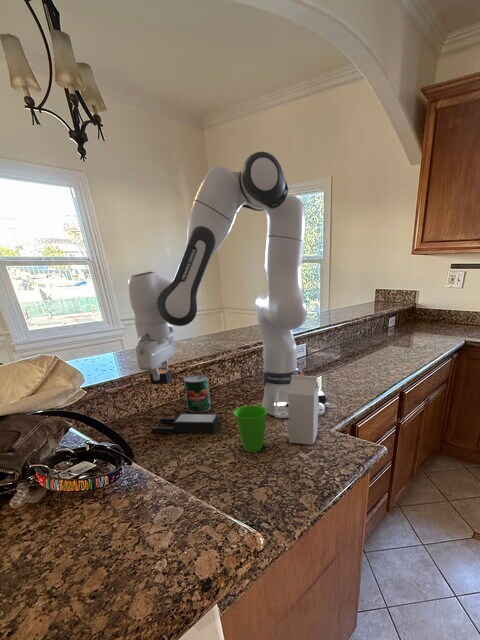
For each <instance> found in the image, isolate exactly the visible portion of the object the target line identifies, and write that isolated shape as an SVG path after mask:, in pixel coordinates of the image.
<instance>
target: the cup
mask: <svg viewBox="0 0 480 640" xmlns="http://www.w3.org/2000/svg"><path fill="white" fill-rule="evenodd" d="M267 413H268V410H267V409H266V408H265V407H262V405H257V404H255V405H253V404H251V405H250V404H249V405H243V406H240V407H237V408H236V409H234V410H233V416H235V420H236V425H237V428H238V432H239V435H240V440H241V444H242V447H243V449H244V451H245V452H248V453H256V452H259V451H261V450H262V448H263V445H264V438H265V429H266V421H267V415H268V414H267Z"/></svg>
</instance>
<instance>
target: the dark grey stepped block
mask: <svg viewBox="0 0 480 640" xmlns="http://www.w3.org/2000/svg"><path fill="white" fill-rule="evenodd" d="M159 419H160V424H172V425H173V426H153V427H151V432H152V434H174V433H207V434H208V433H213V434H214V433H215V432H216V431H217V428H218V427H219V425H220V415H219V413H180V414H179V415H178V416H177V417H161V418H159Z"/></svg>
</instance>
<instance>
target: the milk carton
mask: <svg viewBox="0 0 480 640" xmlns="http://www.w3.org/2000/svg"><path fill="white" fill-rule="evenodd" d="M319 387H320V386H319V383H318V377H317V376H310V375H304V376H298V375H291V382H290V387H289V392H288V412H289V418H288V442H289V443H292V444H301V445H311V446H313V445H314V443H315V441H316V438H317V437H318V429H319V428H318V427H319V422H318V421H319V416H318V394H319V391H320V390H319Z"/></svg>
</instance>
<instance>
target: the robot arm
mask: <svg viewBox="0 0 480 640" xmlns="http://www.w3.org/2000/svg"><path fill="white" fill-rule="evenodd" d="M241 208H245V209H249V210H252V211H256V212H263V211H264V213H265V215H266V220H267V228H266V241H265V256H264V258H265V259H264V269H265V272H266V278H267V289H265V290H263V291H261V292H260V293H259V294H258V295H257V297H256V299H255V301H254V308H255V313H256V315H257V320H258V327H259V332H260V336H261V341H262V349H263V350H262V352H263V370H262V384H263V397H262V403H261V406H262V407H265V408H266V409H267V410H268V413H267V415H271V416H274V418H275V419H276V418H277V419H289V412H288V392H289V387H290V382H291V375H298V376H305V374H304V372H303V370H302V369H299V368H298V346H297V342H296V341H295V337H294V333H293V330H296V329H298V328H300V327H301V326H302V325H304V324H305V321H306V320H307V317H308V309H307V304H306V303H305V300H304V292H303V291H304V290H303V280H302V270H303V269H302V266H303V259H304V258H303V256H304V246H305V237H306V212H305V211H306V210H305V205H304V203H303V202H302V200H301V199H300V198H298V197H297V196H296V195H293V194H289V187H288V183H287V180H286V177H285V175H284V172H283V169H282V166H281V164H280V162H279V161H278V159H277V158H276V157H275V156H274V155H273V154H271V153H269V152H266V151H256V152H254V153H251V154H250V155H249V156H248V157H247V158H246V159H245V161H244V163H243V166H242V169H241V170H240V171H233V170H232V169H230V168H228V167H226V166H223V165H213V166H212V167H210V169H209V170H208V172H207V173H206V174H205V177H204V178H203V180H202V182H201V184H200V185H199V188H198V190H197V193H196V195H195V197H194V200H193V202H192V206H191V209H190V213H189V217H188V223H187V230H186V231H187V232H186V244H185V249H184V252H183V255H182V257H181V260H180V262H179V265H178V267H177V270H176V272H175V276H174V277H173V279H172V280H168V279H167V278H165V277H163V276H161V275H159V274H158V273H156V272H155V271H146V272H142V273H141V272H140V273H136V274H133V275H132V276H130V277H129V279H128V281H127V291H128V296H129V297H128V298H129V302H130V307H131V309H132V311H133V315H134V320H133V321H134V325H135V331H136V335H137V339H138V342H137V344H136V346H135V353H136V360H137V366H138V368H139V369H140V371H149V372H150V373H152V375H153V379H154V380H160V379H161V375H160V373H159V372H158V370H159V366H160V365H161V368H160V370H169V359H170V358H172V357H173V356H174V355H175V353H176V348H175V347H176V345H175V338H174V335H173V334H174V332H175V330H174V326H175V327H177V326H178V327H184V326H187V325H189V324H191V323H192V322H193V321H194V320H195V318H196V316H197V313H198V302H197V301H198V300H197V295H198V290H199V287H200V284H201V282H202V280H203V277H204V275H205V272H206V270H207V266H208V264H209V262H210V261H211V259H212V258H213V256H214V255H215V254H216V252H217V251H218V250H220V248H221V247H222V245H223V244H224V242H225V240H226V239H227V237H228V236H229V234H230V232H231V229H232V227H233V225H234V223H235V219H236V217H237V214H238V213H239V210H240V209H241ZM326 402H327V397H326V394H325V393H324V391H323V390H319V394H318V417H319V416H323V414H324V413H325V411H326V406H325V403H326Z"/></svg>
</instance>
